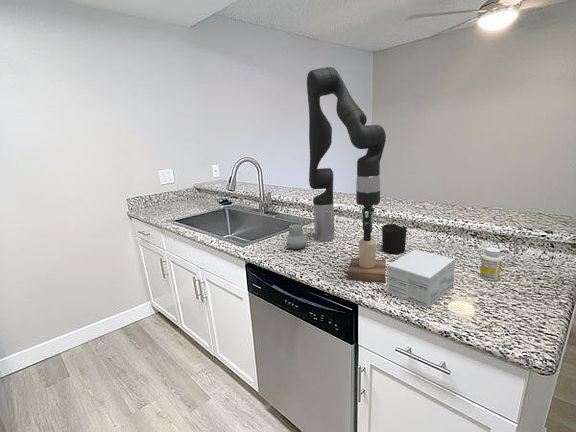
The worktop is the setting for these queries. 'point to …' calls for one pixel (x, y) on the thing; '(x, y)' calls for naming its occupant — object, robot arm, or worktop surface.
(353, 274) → the walnut pedestal
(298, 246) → the air freshener
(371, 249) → the candle
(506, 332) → the worktop surface
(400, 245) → the pen holder
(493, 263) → the supplement bottle
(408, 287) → the supplement box
